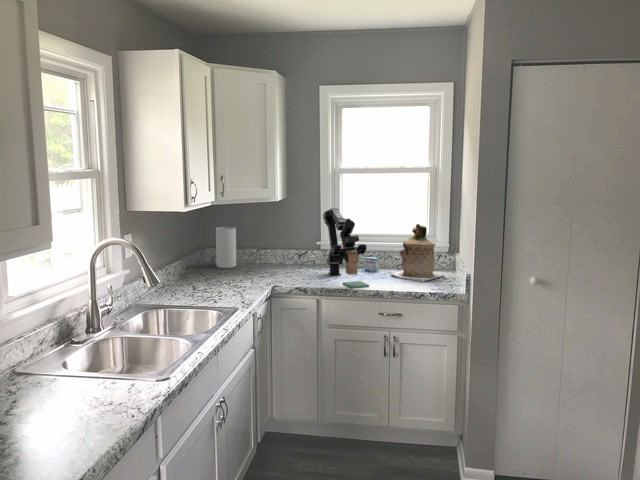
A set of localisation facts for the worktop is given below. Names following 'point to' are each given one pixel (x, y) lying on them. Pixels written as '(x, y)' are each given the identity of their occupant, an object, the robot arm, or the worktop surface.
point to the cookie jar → (418, 257)
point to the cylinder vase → (226, 247)
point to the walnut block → (352, 262)
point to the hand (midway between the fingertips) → (352, 262)
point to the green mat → (355, 284)
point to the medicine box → (371, 264)
